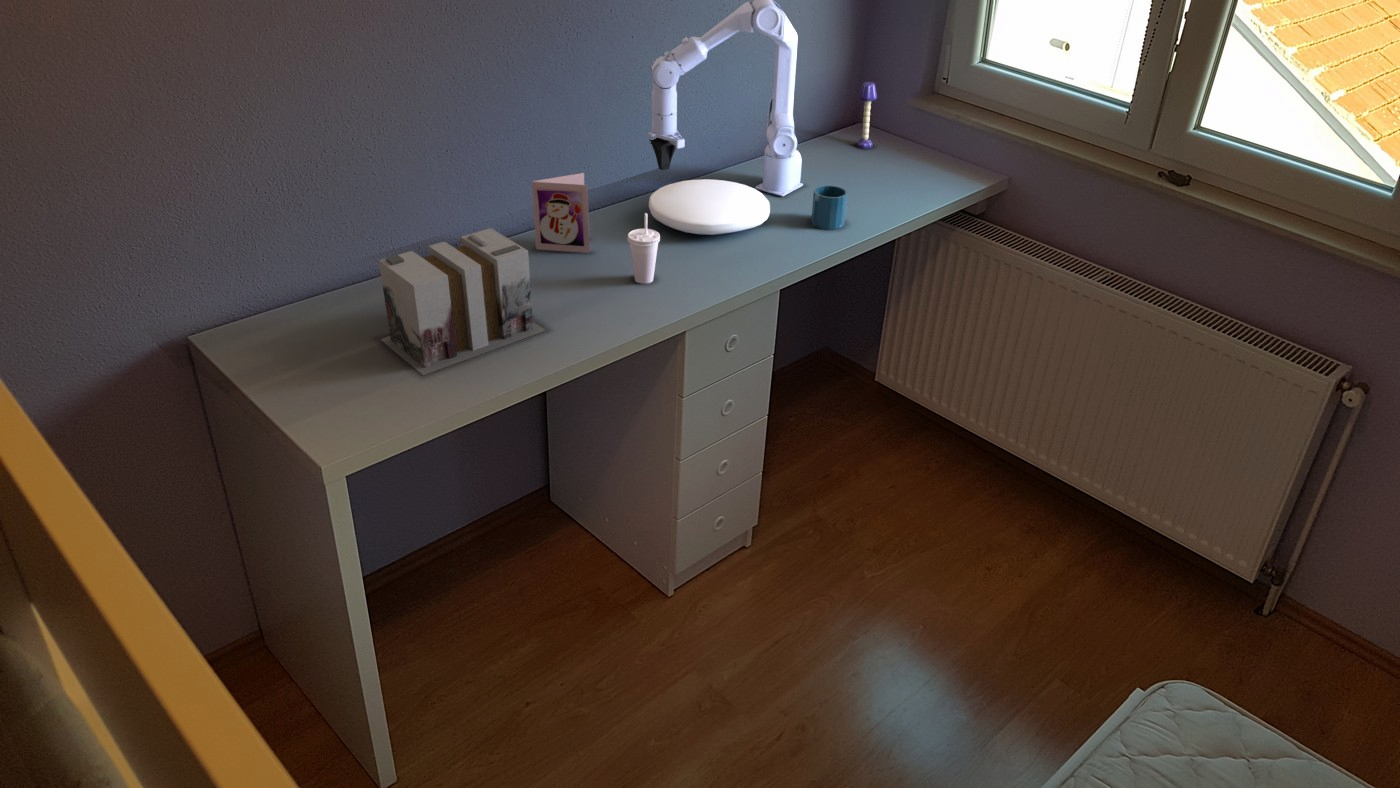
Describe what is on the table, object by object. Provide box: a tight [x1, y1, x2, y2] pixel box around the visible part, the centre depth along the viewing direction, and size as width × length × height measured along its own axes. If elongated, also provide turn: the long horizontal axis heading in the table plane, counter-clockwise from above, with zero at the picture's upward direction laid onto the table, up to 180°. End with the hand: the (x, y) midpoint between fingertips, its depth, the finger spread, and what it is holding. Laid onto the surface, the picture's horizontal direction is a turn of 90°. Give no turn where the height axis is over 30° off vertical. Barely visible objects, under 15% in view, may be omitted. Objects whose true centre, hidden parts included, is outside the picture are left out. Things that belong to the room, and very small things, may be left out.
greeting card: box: [531, 172, 591, 254], centre depth 223 cm, size 11×7×15 cm, turn 83°
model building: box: [378, 227, 547, 376], centre depth 189 cm, size 16×25×16 cm, turn 131°
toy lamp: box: [855, 81, 878, 150], centre depth 279 cm, size 5×5×17 cm
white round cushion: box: [648, 178, 771, 236], centre depth 239 cm, size 28×6×27 cm
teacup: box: [810, 184, 848, 231], centre depth 238 cm, size 7×7×8 cm
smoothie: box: [626, 212, 661, 285], centre depth 210 cm, size 6×6×14 cm
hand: (664, 168), depth 251 cm, fingers closed
